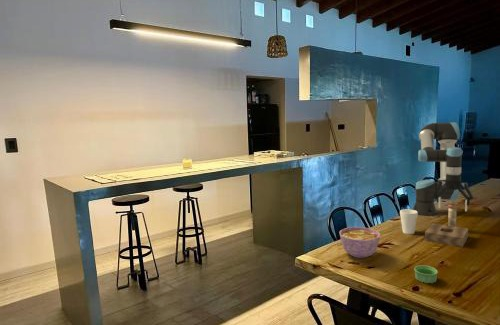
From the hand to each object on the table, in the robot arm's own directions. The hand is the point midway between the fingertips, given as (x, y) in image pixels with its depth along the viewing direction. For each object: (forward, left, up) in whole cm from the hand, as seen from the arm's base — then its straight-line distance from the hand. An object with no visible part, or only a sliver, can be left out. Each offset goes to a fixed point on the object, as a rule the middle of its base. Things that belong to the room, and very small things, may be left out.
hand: (452, 209), depth 196 cm
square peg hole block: (0, -16, -13) cm, 20 cm away
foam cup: (-20, -16, -14) cm, 29 cm away
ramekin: (+2, -72, -14) cm, 73 cm away
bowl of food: (-31, -63, -14) cm, 71 cm away
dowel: (0, 0, -13) cm, 13 cm away
